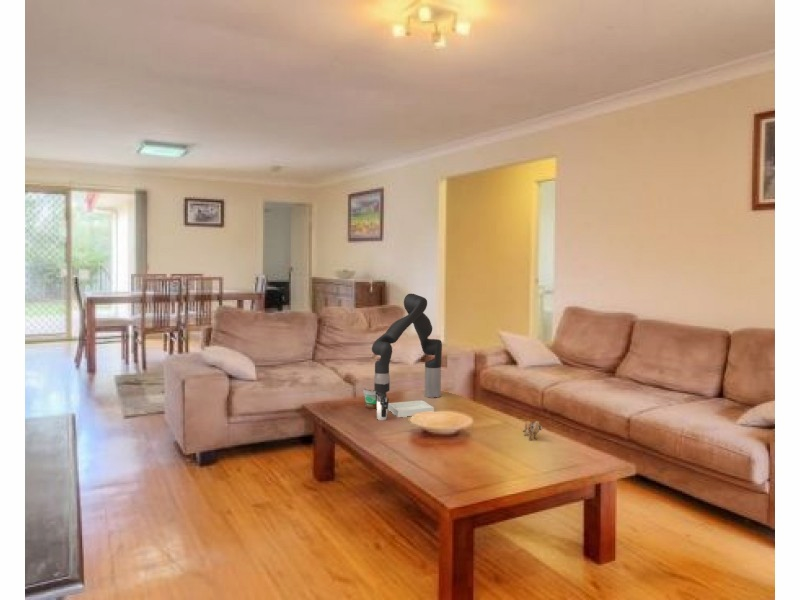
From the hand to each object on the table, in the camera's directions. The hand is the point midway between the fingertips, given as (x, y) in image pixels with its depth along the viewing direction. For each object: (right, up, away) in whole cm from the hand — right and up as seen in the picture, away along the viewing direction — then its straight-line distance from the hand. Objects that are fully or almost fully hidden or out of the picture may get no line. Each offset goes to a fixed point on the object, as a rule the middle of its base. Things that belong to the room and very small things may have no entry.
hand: (381, 415), depth 276 cm
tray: (+15, -1, +13) cm, 19 cm away
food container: (-6, -1, +19) cm, 20 cm away
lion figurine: (+68, -5, -28) cm, 73 cm away
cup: (0, -2, 0) cm, 2 cm away
